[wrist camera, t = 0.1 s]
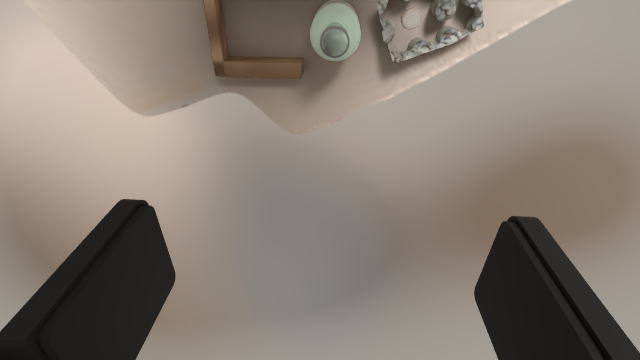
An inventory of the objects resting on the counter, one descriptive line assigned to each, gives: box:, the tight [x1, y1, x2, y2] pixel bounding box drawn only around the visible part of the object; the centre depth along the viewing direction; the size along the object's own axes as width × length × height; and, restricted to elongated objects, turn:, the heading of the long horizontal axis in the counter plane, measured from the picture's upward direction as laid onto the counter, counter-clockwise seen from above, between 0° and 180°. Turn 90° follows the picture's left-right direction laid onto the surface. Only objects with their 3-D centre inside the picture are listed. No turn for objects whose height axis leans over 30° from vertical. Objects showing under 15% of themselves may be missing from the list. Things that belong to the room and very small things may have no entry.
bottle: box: [310, 0, 361, 61], centre depth 36 cm, size 5×5×10 cm
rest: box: [203, 0, 303, 79], centre depth 39 cm, size 12×11×2 cm
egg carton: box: [377, 0, 484, 63], centre depth 37 cm, size 11×8×4 cm
